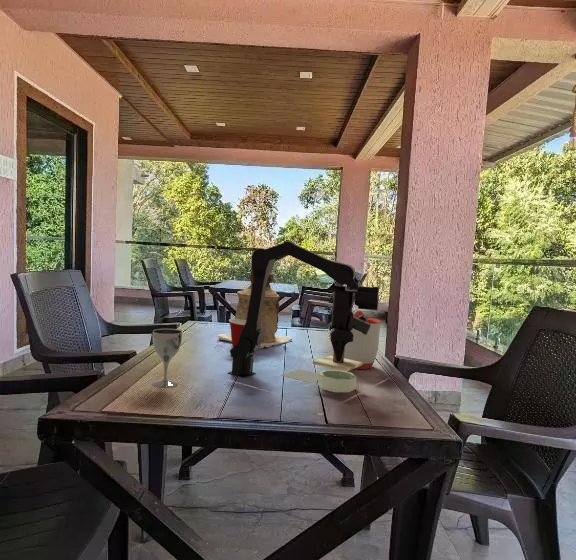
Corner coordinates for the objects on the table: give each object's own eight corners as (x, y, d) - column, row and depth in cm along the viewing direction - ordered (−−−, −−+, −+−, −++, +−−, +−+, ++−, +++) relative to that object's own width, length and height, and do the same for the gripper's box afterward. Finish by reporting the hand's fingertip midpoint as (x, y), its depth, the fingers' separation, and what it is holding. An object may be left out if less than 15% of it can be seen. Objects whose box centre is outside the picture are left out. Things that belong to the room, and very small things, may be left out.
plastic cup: (259, 355, 172) (261, 323, 172) (231, 355, 168) (233, 323, 168) (250, 348, 182) (252, 318, 182) (223, 348, 178) (225, 318, 178)
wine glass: (149, 380, 132) (151, 328, 131) (177, 379, 135) (180, 328, 134) (151, 388, 125) (154, 333, 124) (181, 387, 128) (184, 333, 127)
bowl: (344, 395, 130) (345, 381, 130) (312, 387, 136) (313, 374, 136) (359, 387, 139) (360, 374, 139) (329, 380, 144) (330, 368, 144)
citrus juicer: (379, 362, 173) (383, 309, 172) (375, 374, 156) (380, 315, 155) (338, 357, 177) (341, 305, 176) (329, 367, 160) (334, 310, 159)
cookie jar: (264, 350, 182) (269, 268, 180) (214, 340, 193) (218, 264, 191) (294, 341, 203) (299, 268, 201) (247, 332, 215) (251, 264, 213)
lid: (346, 371, 129) (347, 353, 129) (312, 363, 135) (313, 346, 135) (362, 364, 138) (364, 347, 138) (330, 357, 144) (331, 341, 144)
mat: (310, 384, 139) (310, 382, 139) (280, 376, 145) (280, 375, 145) (328, 377, 149) (328, 375, 148) (299, 370, 155) (299, 368, 155)
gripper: (373, 313, 126) (369, 370, 127) (366, 305, 145) (362, 354, 146) (332, 310, 127) (328, 366, 128) (331, 302, 145) (327, 351, 146)
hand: (338, 359), depth 137 cm, fingers closed on lid, 3 cm apart
